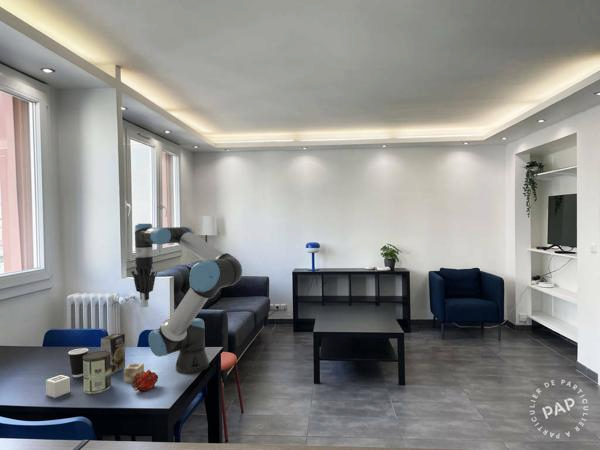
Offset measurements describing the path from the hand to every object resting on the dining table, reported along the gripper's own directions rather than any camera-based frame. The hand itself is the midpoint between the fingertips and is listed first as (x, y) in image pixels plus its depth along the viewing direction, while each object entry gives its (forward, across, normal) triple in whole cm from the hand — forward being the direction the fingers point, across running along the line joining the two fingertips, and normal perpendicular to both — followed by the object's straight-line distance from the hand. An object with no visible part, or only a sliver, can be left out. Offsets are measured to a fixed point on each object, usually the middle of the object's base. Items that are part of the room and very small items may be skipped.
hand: (144, 306), depth 178 cm
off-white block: (+30, -17, -31) cm, 46 cm away
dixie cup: (+30, -25, -14) cm, 41 cm away
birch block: (+30, +3, -11) cm, 32 cm away
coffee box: (+30, -14, -5) cm, 33 cm away
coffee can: (+30, -5, -23) cm, 38 cm away
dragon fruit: (+30, +15, -18) cm, 38 cm away
